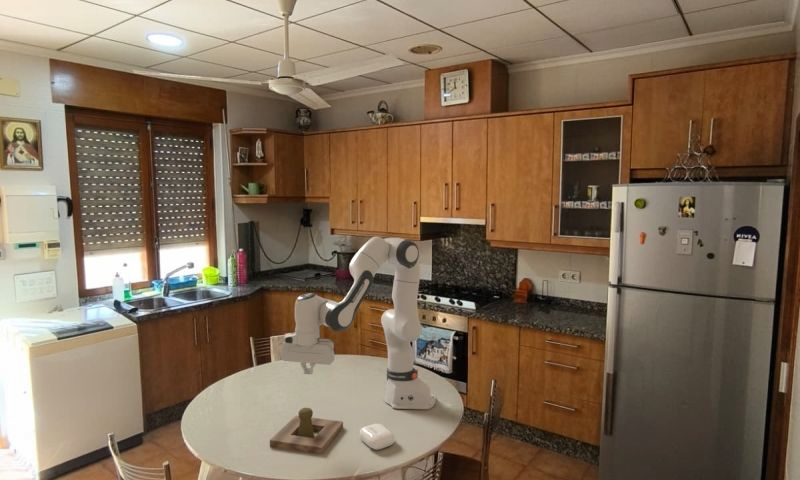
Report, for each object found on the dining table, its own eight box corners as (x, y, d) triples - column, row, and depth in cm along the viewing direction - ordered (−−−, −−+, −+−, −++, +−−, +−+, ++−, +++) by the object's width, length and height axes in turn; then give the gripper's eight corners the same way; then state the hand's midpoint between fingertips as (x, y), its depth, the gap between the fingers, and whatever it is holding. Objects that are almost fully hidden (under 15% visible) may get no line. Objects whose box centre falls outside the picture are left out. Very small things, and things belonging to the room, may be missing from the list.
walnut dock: (343, 429, 183) (343, 421, 183) (321, 455, 164) (321, 447, 164) (296, 422, 189) (295, 415, 188) (269, 448, 169) (269, 439, 169)
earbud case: (379, 432, 182) (379, 418, 181) (398, 446, 171) (398, 432, 170) (355, 439, 176) (355, 425, 175) (374, 455, 165) (374, 440, 165)
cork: (315, 433, 180) (315, 405, 179) (312, 441, 174) (312, 412, 173) (299, 433, 180) (298, 405, 179) (296, 442, 174) (295, 412, 173)
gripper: (336, 336, 177) (337, 372, 178) (286, 333, 182) (287, 368, 183) (330, 341, 171) (331, 379, 172) (278, 338, 176) (279, 374, 177)
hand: (308, 373), depth 177 cm, fingers closed
